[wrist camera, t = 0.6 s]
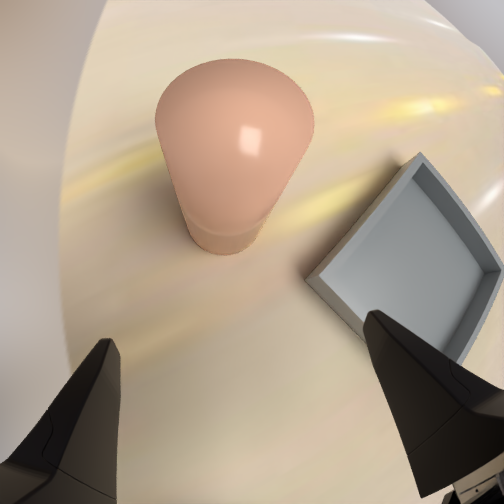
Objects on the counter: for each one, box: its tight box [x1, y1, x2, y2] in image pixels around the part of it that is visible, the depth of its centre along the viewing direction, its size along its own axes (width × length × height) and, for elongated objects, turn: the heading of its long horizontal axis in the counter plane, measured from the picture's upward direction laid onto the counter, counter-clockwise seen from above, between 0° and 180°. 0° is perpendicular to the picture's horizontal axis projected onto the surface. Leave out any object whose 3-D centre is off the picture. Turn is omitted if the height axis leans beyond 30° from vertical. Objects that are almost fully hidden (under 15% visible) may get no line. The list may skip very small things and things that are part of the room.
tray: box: [304, 152, 504, 365], centre depth 23 cm, size 16×16×4 cm
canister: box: [155, 59, 314, 255], centre depth 17 cm, size 6×6×14 cm
